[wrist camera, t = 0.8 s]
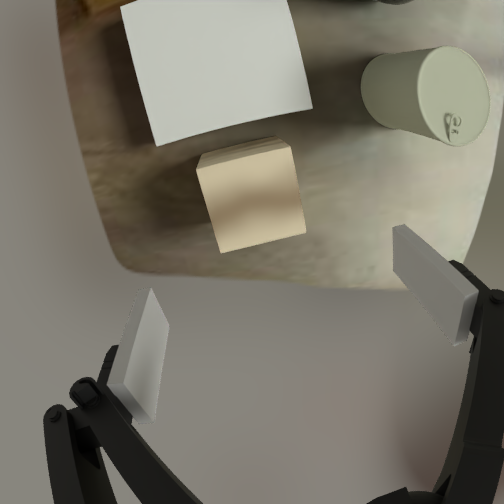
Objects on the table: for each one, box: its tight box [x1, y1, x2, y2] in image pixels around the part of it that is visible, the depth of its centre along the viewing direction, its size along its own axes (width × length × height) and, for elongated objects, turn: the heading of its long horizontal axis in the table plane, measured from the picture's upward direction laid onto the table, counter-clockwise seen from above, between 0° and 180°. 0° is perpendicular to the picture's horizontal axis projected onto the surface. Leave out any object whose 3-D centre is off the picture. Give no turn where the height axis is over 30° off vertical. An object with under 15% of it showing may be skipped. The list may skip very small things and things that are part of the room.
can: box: [361, 46, 491, 146], centre depth 26 cm, size 9×9×12 cm
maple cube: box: [196, 136, 307, 253], centre depth 31 cm, size 8×8×8 cm
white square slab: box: [120, 0, 313, 146], centre depth 26 cm, size 15×15×4 cm
